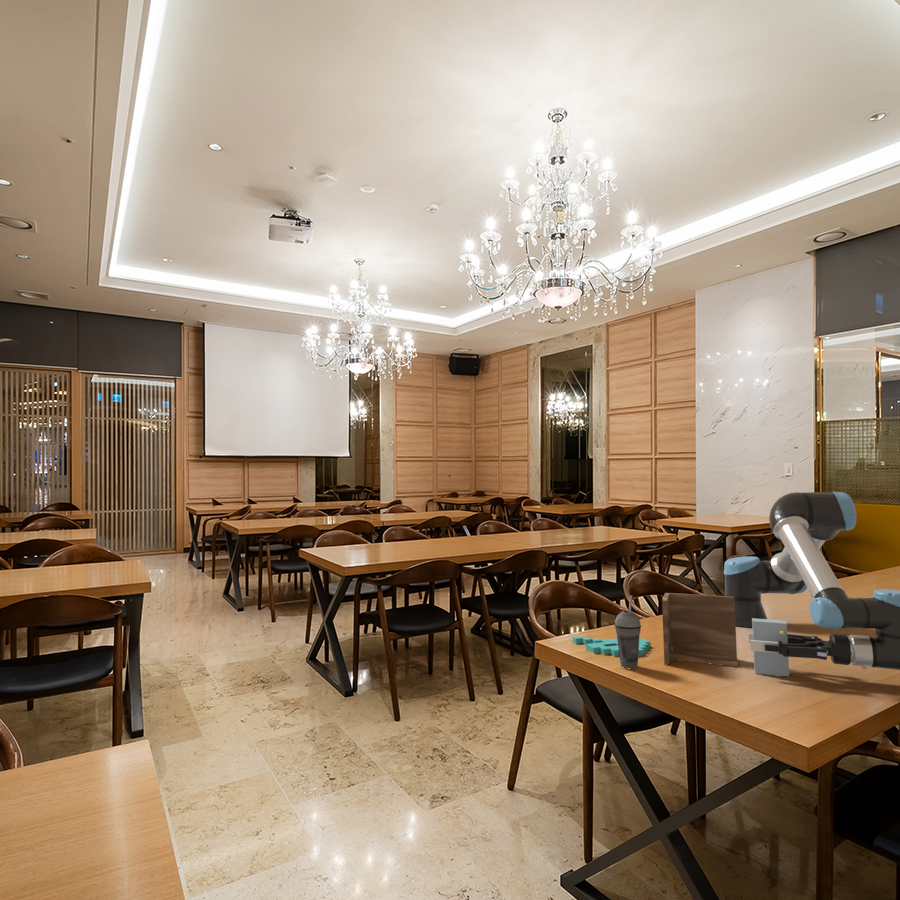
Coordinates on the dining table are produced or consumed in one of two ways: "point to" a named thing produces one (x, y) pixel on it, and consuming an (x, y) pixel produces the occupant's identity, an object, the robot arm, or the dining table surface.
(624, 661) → the beverage cup
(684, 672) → the dining table surface
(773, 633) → the door
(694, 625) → the cabinet
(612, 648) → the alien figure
